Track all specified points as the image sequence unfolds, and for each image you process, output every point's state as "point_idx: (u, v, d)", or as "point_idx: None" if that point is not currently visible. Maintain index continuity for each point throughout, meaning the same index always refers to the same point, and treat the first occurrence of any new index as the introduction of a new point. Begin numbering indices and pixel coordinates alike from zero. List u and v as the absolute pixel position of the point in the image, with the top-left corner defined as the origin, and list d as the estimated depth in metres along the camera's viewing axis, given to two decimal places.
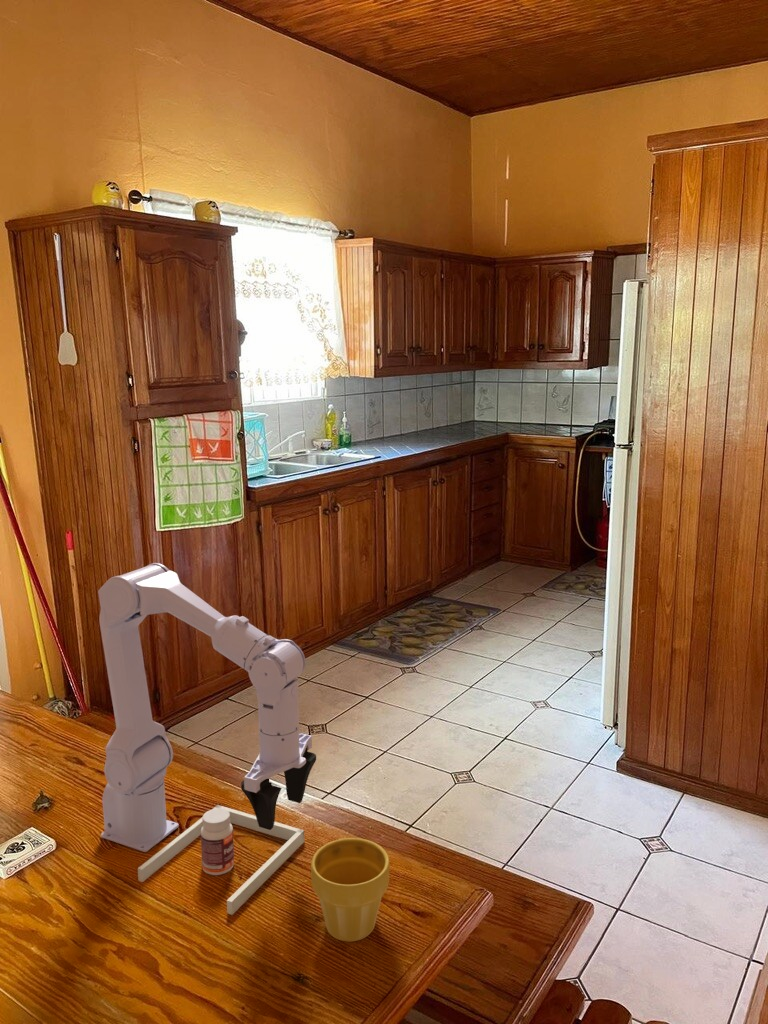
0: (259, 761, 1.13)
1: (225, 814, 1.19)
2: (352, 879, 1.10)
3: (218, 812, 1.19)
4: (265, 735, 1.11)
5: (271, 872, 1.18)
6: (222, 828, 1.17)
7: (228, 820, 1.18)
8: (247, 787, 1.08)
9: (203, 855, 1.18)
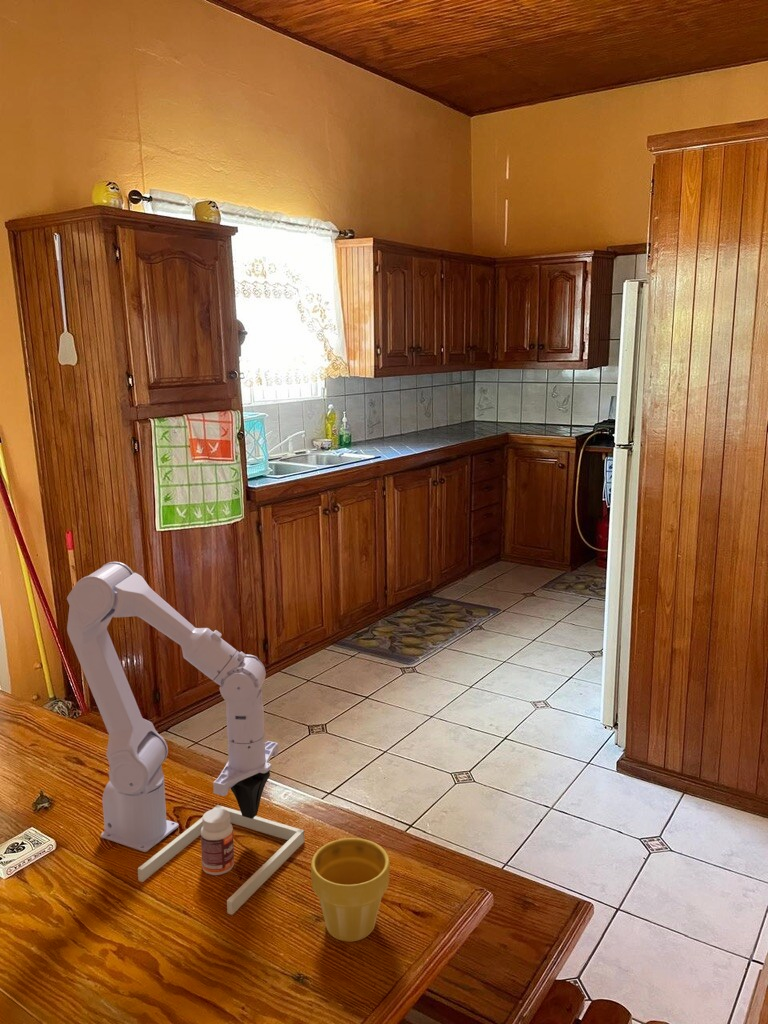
0: (228, 767, 1.23)
1: (225, 814, 1.19)
2: (352, 879, 1.10)
3: (218, 812, 1.19)
4: (233, 743, 1.21)
5: (271, 872, 1.18)
6: (222, 828, 1.17)
7: (228, 820, 1.18)
8: (216, 791, 1.19)
9: (203, 855, 1.18)
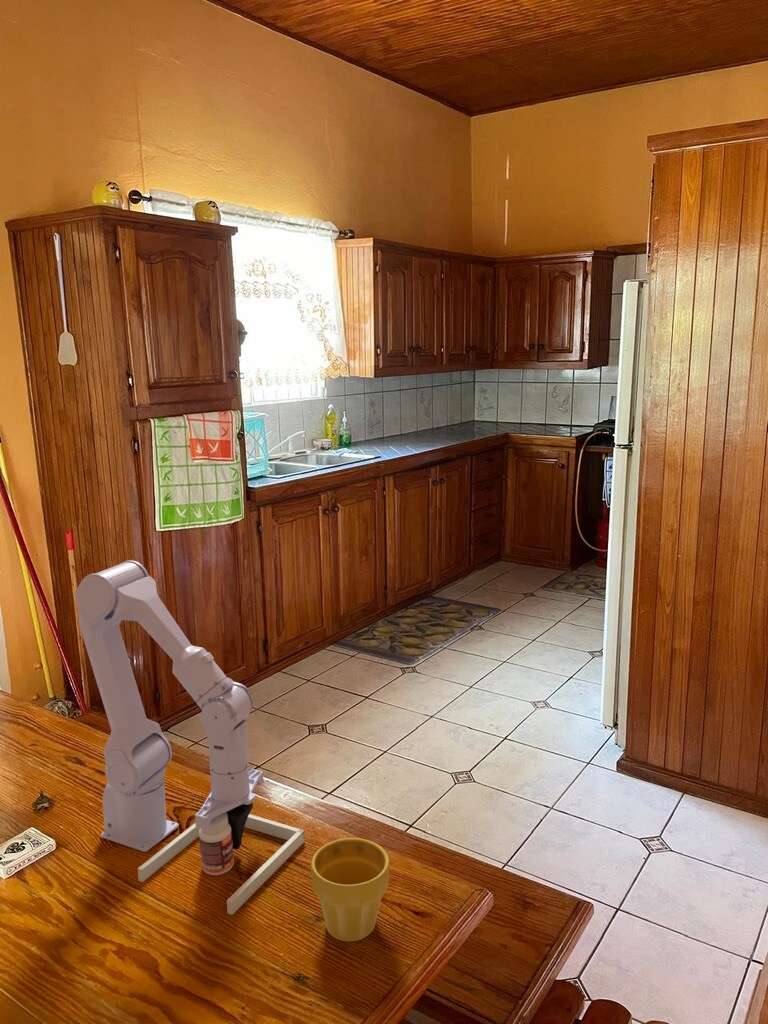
0: (211, 798, 1.20)
1: (222, 816, 1.18)
2: (352, 879, 1.10)
3: None
4: (215, 774, 1.18)
5: (271, 872, 1.18)
6: (220, 830, 1.16)
7: (226, 822, 1.17)
8: (198, 824, 1.15)
9: (202, 856, 1.18)
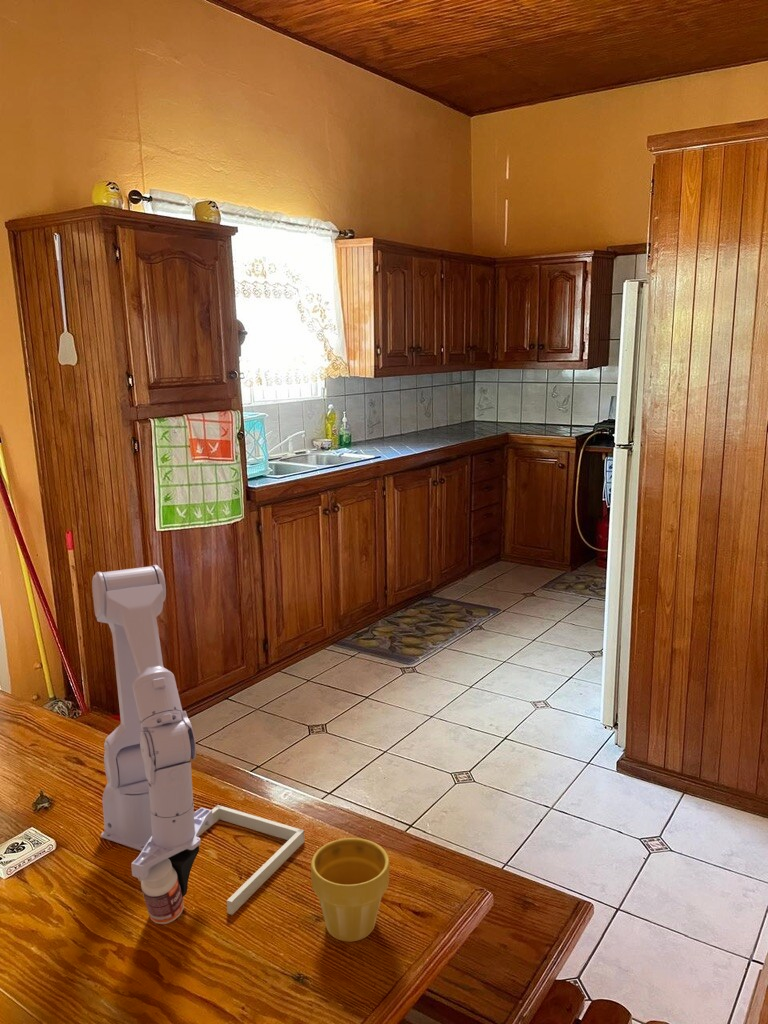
0: (151, 843, 1.08)
1: (166, 865, 1.06)
2: (352, 879, 1.10)
3: None
4: (155, 817, 1.07)
5: (271, 872, 1.18)
6: (165, 882, 1.05)
7: (170, 871, 1.06)
8: (135, 874, 1.04)
9: (148, 907, 1.07)
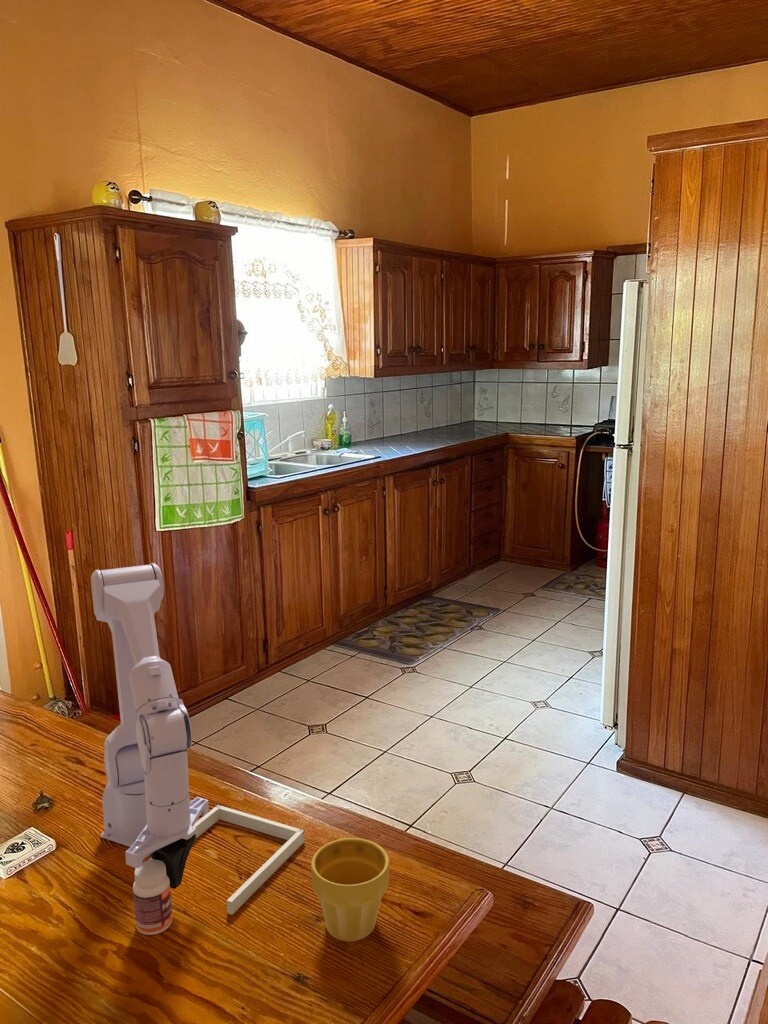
0: (146, 831, 1.07)
1: (160, 866, 1.06)
2: (352, 879, 1.10)
3: (151, 864, 1.07)
4: (150, 805, 1.06)
5: (271, 872, 1.18)
6: (159, 882, 1.05)
7: (164, 872, 1.06)
8: (129, 862, 1.03)
9: (138, 915, 1.05)
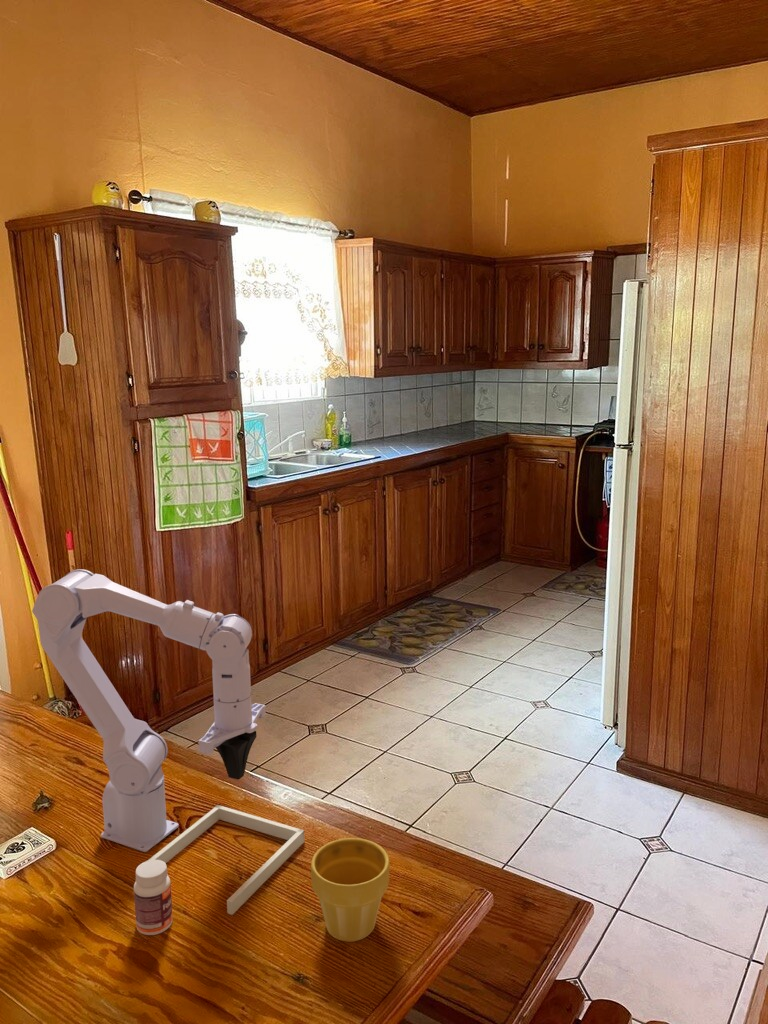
0: (214, 727, 1.22)
1: (161, 865, 1.07)
2: (352, 879, 1.10)
3: (152, 864, 1.07)
4: (219, 702, 1.21)
5: (271, 872, 1.18)
6: (160, 882, 1.05)
7: (166, 872, 1.06)
8: (202, 750, 1.18)
9: (138, 915, 1.05)
